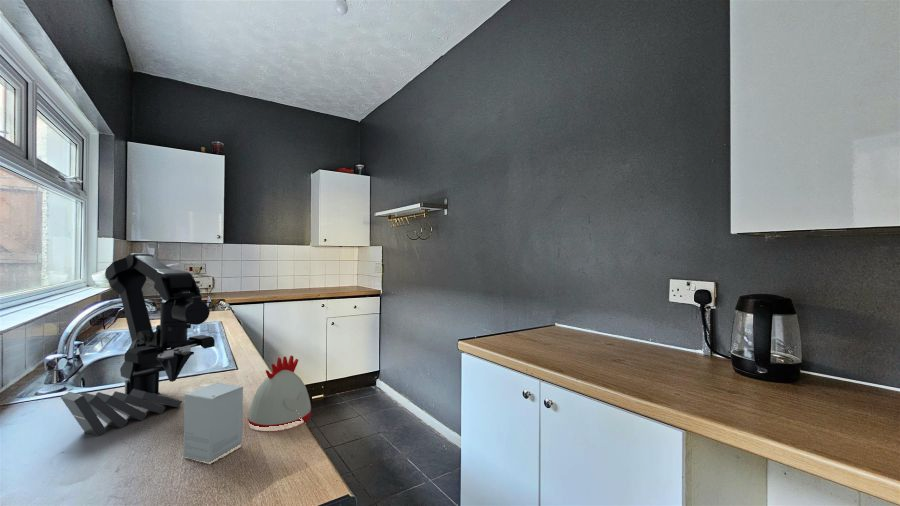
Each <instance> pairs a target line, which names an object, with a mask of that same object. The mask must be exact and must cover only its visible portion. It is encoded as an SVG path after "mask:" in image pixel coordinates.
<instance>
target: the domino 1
mask: <svg viewBox="0 0 900 506" xmlns="http://www.w3.org/2000/svg"><path fill="white" fill-rule="evenodd" d="M80 394H81V393H76V392H73V391H68V392H67V393H65V394H63V395H61V396H60V399H61V401H63V404H64V405H65V406H66V408H67V409H68V411H69V412H70V413H71V415H72V416H73V418H74V419H75V420H76V422H77V424H78V425H79V426H80V427H81V429H82V430H83V432H84V433H88V434H90V435H93V436H96V437H100V436H101V435H102V434H103V433H105V432H106V431H107V429H106V427H105V426H104V425H103V423H102V421H101V419H100V418H99V417H98V416H97V415H96V414H95V412H94V411H93V409H92V408H91V406H90V405H89V403H88V402H87V400H86V399H85V397H84V396H83V395H80Z"/></svg>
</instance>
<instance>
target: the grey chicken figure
mask: <svg viewBox="0 0 900 506" xmlns="http://www.w3.org/2000/svg"><path fill="white" fill-rule="evenodd" d="M298 363H299V359H298V358H295V359H294V355H292V354H291V355H290V356H289V358H287V356H283V358H282V357H277V360H276V365H275V364H274V363H271V364H270V365H271V370H272V372H270V371H269V370H267V369H266V370H265V374H266V376H267V377H266V378H265V379H264V380H263V381H262V382H261V383H260V384H259V386H258V388H257V389H256V391H255V393H254V396H253V398H252V402H251V404H250V408H249V412H248V417H247V422H248V421H249V423H250V424H252V425H254V426H259V427H269V426H279V425H284V424H288V423H292V422H295V421H301V420H300V419H301V417H302V419H303V420H304V422H305V423H306V422H308V421H309V420H310V418H311V416H312V405H311V400H310V399H311V398H310V395H309V392H308V389H307V387H306V384H305V383H304V382H303V380H302V378H301V377H300V376H298V374H296V373H295V370H296V369H297V368H296V367H297V365H298ZM296 410H297V411H296ZM298 413H299V414H300V415H299V414H298ZM300 416H301V417H300ZM299 418H300V419H299Z"/></svg>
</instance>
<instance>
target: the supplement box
mask: <svg viewBox="0 0 900 506" xmlns="http://www.w3.org/2000/svg"><path fill="white" fill-rule="evenodd" d="M243 398H244V386H241V385H234V384H228V383H224V382H215V383H212V384H209V385H207V386H204V387H201V388H197V389H196V390H193V391H190V392H187V393H185V394H184V409H183V410H184V412H183V413H184V415H183V416H184V417H183V456H184V457H188V458H191V459H195V460H199V461H205V462H211V461H213V460H214V459H216V458H218V457H219V456H221V455H223V454H224V453H227V452H228V451H230V450H231V449H233V448H235V447H237V446H238V445H240V444H241V443H242V444H243V407H244V406H243V405H244V403H243V402H244V399H243ZM183 456H182V457H183Z"/></svg>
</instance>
